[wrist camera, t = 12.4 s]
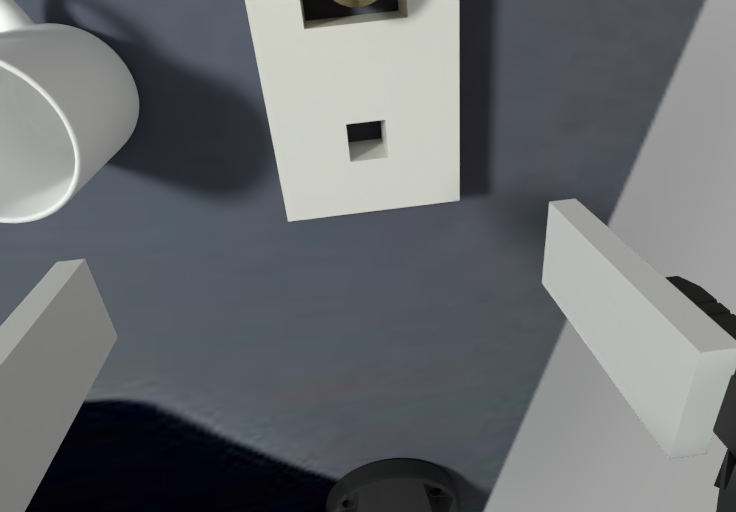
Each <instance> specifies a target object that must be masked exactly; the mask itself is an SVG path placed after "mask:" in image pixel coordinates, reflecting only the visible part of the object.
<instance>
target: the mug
mask: <svg viewBox="0 0 736 512" xmlns="http://www.w3.org/2000/svg"><path fill="white" fill-rule="evenodd" d="M138 115H139V97H138V91H137V88H136V85H135V82H134V79H133V77H132V75H131V73H130V71H129V70H128V68H127V66H126V65H125V63H124V62H123V61H122V59H121V58H120V57H119V56H118V55H117V54H116V52H115V51H114V50H113V49H111V48H110V47H109V46H108V45H107V44H106V43H104V42H103V41H102V40H100V39H99V38H97V37H96V36H94V35H92V34H90V33H89V32H86V31H84V30H82V29H79V28H76V27H73V26H69V25H63V24H56V23H41V24H36V23H34V22H33V21H32V20H31V19H30V18H29V17H28V15H27V14H26V13H25V12H24V11H23V10H22V9H21V8H20V7H19V6H18V4H17V3H15V2H14V1H13V0H0V222H2V223H22V222H30V221H34V220H39V219H41V218H44V217H47V216H49V215H51V214H53V213H54V212H56V211H58V210H59V209H60V208H61V207H63V206H64V205H65V204H66V203H67V202H68V201H69V200H70V199H71V198H72V197H73V196H74V195H75V194H76V193H77V192H78V191H79V190H80V189H81V188H82V187H83V186H84V185H85V184H86V183H87V182H88V181H89V180H90V179H91V178H92V177H93V176H94V175H95V174H96V173H97V172H98V171H99V170H100V169H101V168H102V167H103V166H104V165H105V164H106V163H107V162H108V161H109V160H110V159H111V158H112V157H113V156H114V155H115V154H116V153H117V152H118V151H119V150H120V149H121V147H122V146H123V145H124V144H125V143H126V142H127V141H128V139H129V138H130V136H131V135H132V133H133V131H134V129H135V126H136V123H137V120H138Z"/></svg>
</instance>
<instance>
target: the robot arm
mask: <svg viewBox="0 0 736 512" xmlns="http://www.w3.org/2000/svg"><path fill="white" fill-rule="evenodd" d="M542 284H543V285H544V286H545V288H546V289H547V291H548V292H549V293H550V295H551V296H552V298H553V299H554V300H555V302H556V303H557V304H558V306H559V307H560V309H561V310H562V311H563V313H564V314H565V316H566V317H567V318H568V320H569V321H570V322H571V324H572V325H573V326H574V328H575V329H576V331H577V332H578V333H579V335H580V336H581V338H582V339H583V340H584V342H585V343H586V345H587V346H588V347H589V349H590V350H591V352H592V353H593V354H594V356H595V357H596V359H597V360H598V361H599V363H600V364H601V365H602V367H603V368H604V370H605V371H606V372H607V374H608V375H609V377H610V378H611V379H612V381H613V382H614V383H615V385H616V386H617V388H618V389H619V390H620V392H621V393H622V394H623V396H624V397H625V399H626V400H627V401H628V403H629V404H630V406H631V407H632V408H633V410H634V411H635V413H636V414H637V415H638V417H639V418H640V419H641V421H642V422H643V424H644V425H645V426H646V428H647V429H648V431H649V432H650V433H651V435H652V436H653V437H654V439H655V440H656V442H657V443H658V444H659V446H660V447H661V449H662V450H663V451H664V453H665V454H666V456H667V457H668V458H669V459H675V458H683V457H690V456H697V455H704V454H707V451H708V448H709V445H710V442H711V440H712V436H713V433H715V434H716V435H717V436H718V438H719V439H720V440H721V441H722V442H723V443H724V445H725V446H726V447H727V448H728V449H727V452H726V455H725V457H724V460H723V463H722V465H721V468H720V471H719V474H718V476H717V479H716V482H715V484H714V486H716V487H718V488H720V489H719V496H718V503H717V510H716V512H736V316H735V315H734V314H731V313H730V311H729V310H728V309H727V308H726V307H724V306H723V305H722V304H721V303H717V300H716V299H715V298H714V297H713V296H711V295H710V294H709V293H708V292H706V291H705V290H704V289H703V288H701V287H700V286H698V285H696V284H694V283H692V282H690V281H688V280H685V279H683V278H681V277H679V276H674V277H666V278H665V277H663V276H662V275H661V274H660V273H659V272H658V271H657V270H656V269H654V268H653V267H652V266H651V265H649V263H648V262H646V261H645V260H644V259H643V258H642V257H641V256H640V255H639V254H637V253H636V252H635V251H634V250H633V249H632V248H631V247H630V246H629V245H627V244H626V243H625V242H624V241H623V240H622V239H621V238H619V237H618V236H617V235H616V234H615V233H614V232H612V230H610V229H609V228H608V227H607V226H606V225H605V224H604V223H602V222H601V221H600V220H599V219H598V218H597V217H596V216H595V215H593V214H592V213H591V212H590V211H589V210H588V209H587V208H586V207H584V206H583V205H582V204H581V203H580V202H579V201H578V200H576V199H568V200H560V201H551V202H549V209H548V221H547V232H546V243H545V254H544V265H543V277H542ZM117 338H118V337H117V334H116V332H115V329H114V327H113V325H112V322H111V320H110V318H109V315H108V313H107V310H106V308H105V306H104V303H103V301H102V299H101V296H100V294H99V291H98V289H97V287H96V284H95V282H94V280H93V277H92V275H91V272H90V270H89V268H88V265H87V263H86V260H85V259H79V260H71V261H63V262H57V263H56V264H55V265H54V266H53V267H52V268H51V269H50V271H49V272H48V273H47V274H46V275H45V276H44V277H43V279H42V280H41V281H40V282H39V283H38V284H37V285H36V287H35V288H34V289H33V290H32V291H31V292H30V293H29V294H28V296H27V297H26V298H25V299H24V300H23V301H22V302H21V304H20V305H19V306H18V307H17V308H16V309H15V310H14V312H13V313H12V314H11V315H10V316H9V317H8V318H7V320H6V321H5V322H4V323H3V324H2V325H1V326H0V512H25V510H26V508H27V506H28V504H29V502H30V500H31V499H32V497H33V495H34V493H35V491H36V489H37V487H38V486H39V484H40V482H41V480H42V478H43V476H44V474H45V472H46V471H47V469H48V467H49V465H50V463H51V461H52V459H53V457H54V456H55V454H56V452H57V450H58V448H59V446H60V444H61V442H62V441H63V439H64V437H65V435H66V433H67V431H68V429H69V427H70V426H71V424H72V422H73V420H74V418H75V416H76V414H77V413H78V411H79V409H80V407H81V405H82V403H83V401H84V399H85V398H86V396H87V394H88V392H89V390H90V388H91V386H92V384H93V383H94V381H95V379H96V377H97V375H98V373H99V371H100V369H101V368H102V366H103V364H104V362H105V360H106V358H107V356H108V354H109V353H110V351H111V349H112V347H113V345H114V343H115V341H116V339H117ZM326 512H461V505H460V501H459V497H458V493H457V489H456V486H455V483H454V481H453V480H452V478H451V477H450V476H449V475H448V474H447V473H446V472H445V471H443V470H442V469H440V468H438V467H436V466H434V465H432V464H429V463H426V462H422V461H417V460H409V459H394V460H385V461H379V462H375V463H371V464H368V465H365V466H363V467H360V468H358V469H356V470H354V471H352V472H350V473H349V474H347V475H346V476H344V477H343V478H342V479H341V480H339V481H338V482H337V483H336V484H335V486H334V487H333V488H332V490H331V491H330V493H329V495H328V498H327V501H326Z"/></svg>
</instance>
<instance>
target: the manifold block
mask: <svg viewBox="0 0 736 512" xmlns="http://www.w3.org/2000/svg"><path fill="white" fill-rule="evenodd" d="M245 3H246V8H247V13H248V18H249V24H250V29H251V34H252V39H253V44H254V49H255V54H256V59H257V64H258V70H259V75H260V80H261V85H262V90H263V95H264V100H265V105H266V111H267V116H268V121H269V126H270V131H271V136H272V141H273V146H274V152H275V157H276V162H277V167H278V172H279V177H280V182H281V187H282V193H283V198H284V203H285V208H286V213H287V218H288V221H297V220H305V219H313V218H321V217H329V216H337V215H346V214H354V213H362V212H370V211H378V210H386V209H395V208H403V207H411V206H419V205H427V204H435V203H443V202H452V201H460V97H459V0H398V11H390V12H381V13H372V14H363V15H354V16H346V17H337V18H328V19H319V20H310V21H305V15H304V8H303V1H302V0H245ZM371 121H380V125H381V137H382V138H381V139H372V140H364V141H356V142H348V137H347V129H346V124H354V123H363V122H371Z"/></svg>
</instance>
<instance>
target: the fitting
mask: <svg viewBox="0 0 736 512" xmlns="http://www.w3.org/2000/svg"><path fill="white" fill-rule="evenodd" d="M334 1H336V2H337V3H339V4H341V5H344V6H347V7H363V6H367V5H369V4H371V3H373V2H375V1H376V0H334Z"/></svg>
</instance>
